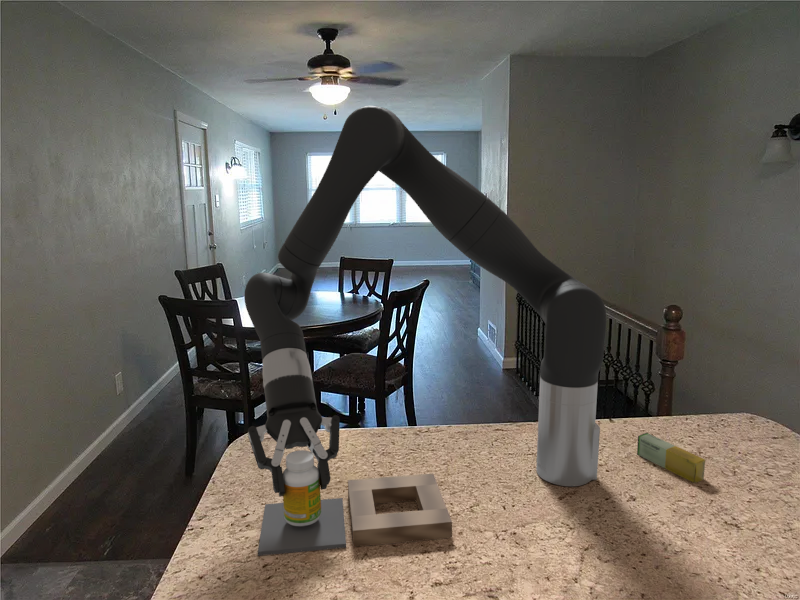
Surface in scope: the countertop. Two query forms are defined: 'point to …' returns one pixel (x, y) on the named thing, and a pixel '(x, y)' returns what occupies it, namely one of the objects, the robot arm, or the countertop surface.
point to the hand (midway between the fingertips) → (303, 490)
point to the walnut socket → (401, 525)
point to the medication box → (671, 457)
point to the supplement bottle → (301, 489)
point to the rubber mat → (302, 530)
